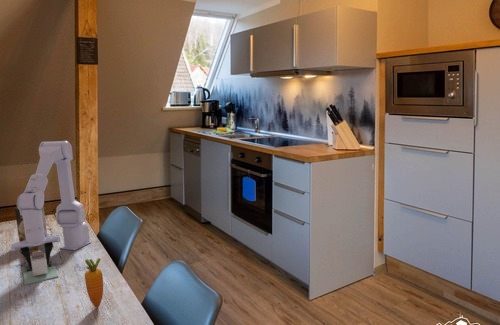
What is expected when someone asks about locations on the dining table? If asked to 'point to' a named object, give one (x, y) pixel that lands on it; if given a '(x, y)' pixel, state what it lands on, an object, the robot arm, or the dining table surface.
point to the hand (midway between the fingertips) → (39, 266)
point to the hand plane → (36, 250)
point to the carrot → (94, 282)
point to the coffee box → (21, 225)
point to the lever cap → (39, 263)
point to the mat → (40, 276)
